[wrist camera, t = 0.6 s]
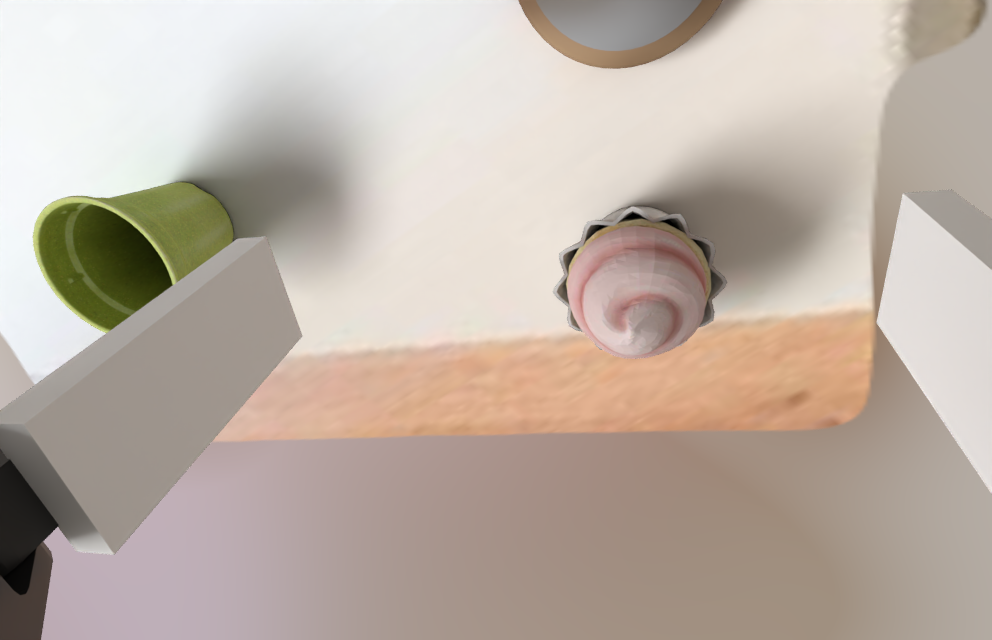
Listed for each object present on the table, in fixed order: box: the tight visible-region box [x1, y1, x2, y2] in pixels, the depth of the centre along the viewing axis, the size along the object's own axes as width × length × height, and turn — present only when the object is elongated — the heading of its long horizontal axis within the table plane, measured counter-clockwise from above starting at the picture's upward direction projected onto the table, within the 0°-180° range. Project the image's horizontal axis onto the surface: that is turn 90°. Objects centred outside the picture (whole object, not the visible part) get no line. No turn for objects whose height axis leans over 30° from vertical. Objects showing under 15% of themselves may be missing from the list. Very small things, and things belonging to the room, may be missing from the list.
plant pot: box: [33, 182, 234, 333], centre depth 39 cm, size 9×9×9 cm
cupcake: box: [553, 206, 727, 359], centre depth 33 cm, size 9×9×10 cm
